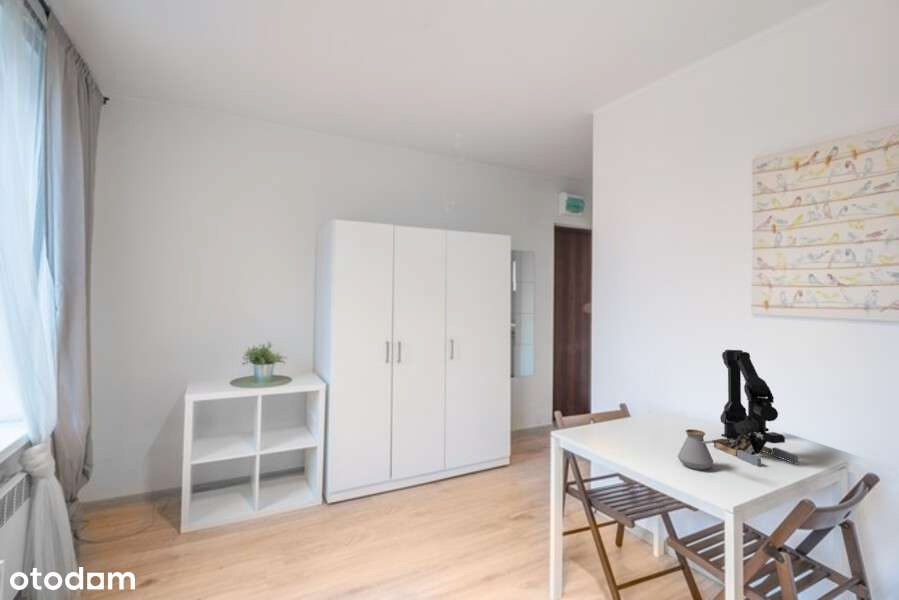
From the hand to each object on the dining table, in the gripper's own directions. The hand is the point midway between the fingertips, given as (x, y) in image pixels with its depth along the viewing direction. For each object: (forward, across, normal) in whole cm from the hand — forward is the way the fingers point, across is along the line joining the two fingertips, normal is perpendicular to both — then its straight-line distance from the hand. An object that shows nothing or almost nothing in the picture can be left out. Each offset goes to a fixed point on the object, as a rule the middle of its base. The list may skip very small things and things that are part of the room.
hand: (756, 453), depth 167 cm
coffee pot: (+1, +9, -31) cm, 32 cm away
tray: (+1, -7, 0) cm, 7 cm away
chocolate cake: (+2, -5, -1) cm, 6 cm away
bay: (+1, +4, 0) cm, 4 cm away
